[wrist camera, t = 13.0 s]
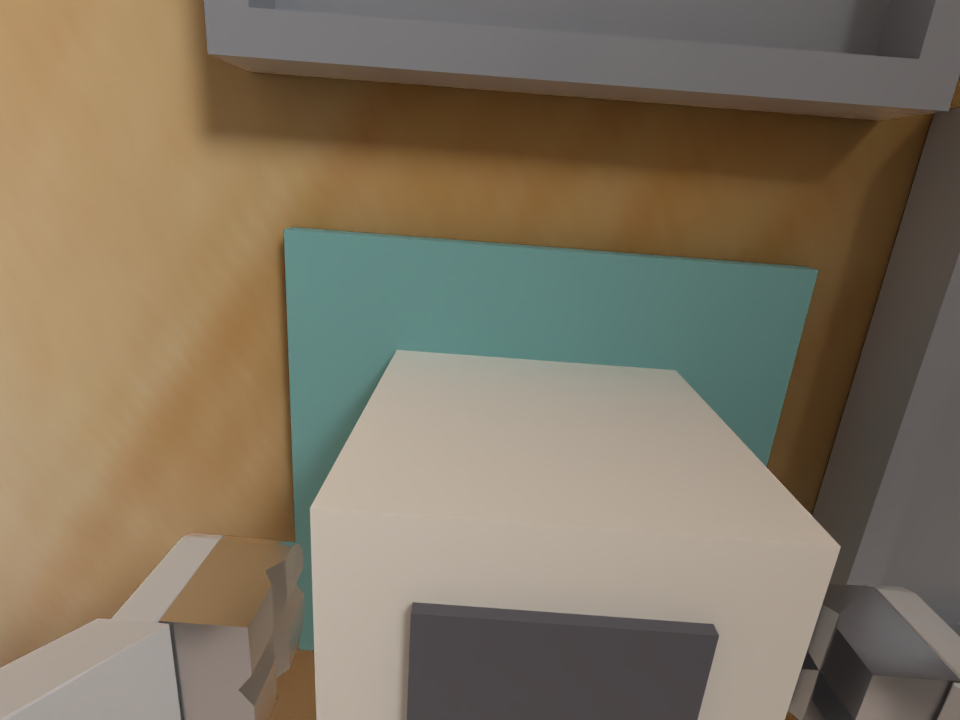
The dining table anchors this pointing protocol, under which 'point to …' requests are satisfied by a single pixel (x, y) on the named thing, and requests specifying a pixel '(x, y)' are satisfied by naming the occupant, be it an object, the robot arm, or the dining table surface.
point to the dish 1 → (618, 49)
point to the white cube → (556, 552)
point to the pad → (523, 329)
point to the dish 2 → (907, 405)
